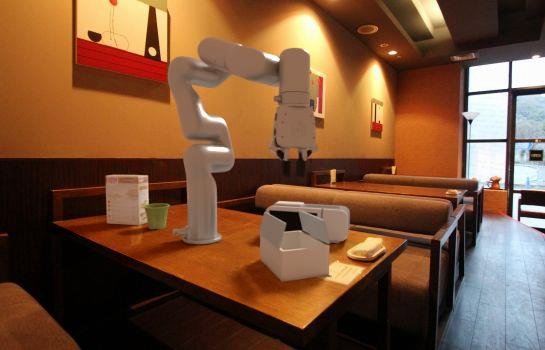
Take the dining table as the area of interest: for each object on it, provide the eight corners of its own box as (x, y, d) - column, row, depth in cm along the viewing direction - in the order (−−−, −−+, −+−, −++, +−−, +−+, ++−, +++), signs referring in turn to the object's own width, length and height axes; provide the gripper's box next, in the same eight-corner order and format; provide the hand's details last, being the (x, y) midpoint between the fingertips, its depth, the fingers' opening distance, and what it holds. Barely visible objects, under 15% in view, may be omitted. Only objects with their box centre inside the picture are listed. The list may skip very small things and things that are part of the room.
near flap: (279, 249, 72) (277, 248, 72) (260, 234, 85) (258, 233, 85) (286, 223, 72) (284, 222, 72) (266, 212, 85) (264, 211, 85)
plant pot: (175, 227, 123) (175, 204, 122) (154, 232, 115) (154, 208, 115) (159, 224, 128) (159, 202, 127) (138, 228, 120) (138, 206, 120)
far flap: (323, 220, 75) (324, 219, 76) (298, 210, 88) (299, 209, 89) (328, 244, 76) (330, 243, 76) (302, 230, 89) (304, 229, 90)
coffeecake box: (149, 222, 132) (148, 174, 130) (138, 225, 125) (137, 176, 123) (118, 220, 135) (117, 174, 134) (106, 223, 128) (104, 175, 127)
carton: (282, 281, 72) (282, 251, 71) (260, 259, 87) (260, 234, 86) (328, 275, 76) (329, 246, 75) (300, 254, 91) (300, 230, 90)
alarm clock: (265, 238, 109) (265, 203, 108) (273, 231, 118) (273, 199, 117) (347, 245, 101) (348, 208, 100) (349, 238, 109) (350, 203, 109)
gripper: (267, 97, 72) (267, 178, 73) (331, 101, 78) (329, 177, 79) (257, 102, 79) (257, 176, 80) (316, 106, 85) (315, 175, 86)
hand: (293, 175), depth 80 cm, fingers open, 3 cm apart
